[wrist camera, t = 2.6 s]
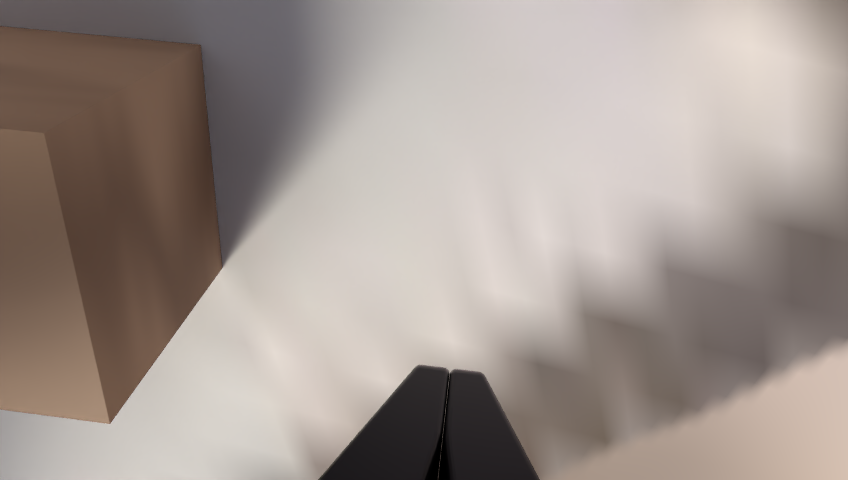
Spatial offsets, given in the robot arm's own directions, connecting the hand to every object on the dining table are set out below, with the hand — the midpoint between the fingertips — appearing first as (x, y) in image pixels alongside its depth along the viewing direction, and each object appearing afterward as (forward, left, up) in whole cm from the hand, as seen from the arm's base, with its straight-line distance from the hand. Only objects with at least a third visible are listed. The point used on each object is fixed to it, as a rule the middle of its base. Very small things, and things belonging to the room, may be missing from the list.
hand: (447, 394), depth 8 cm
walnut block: (0, +8, -6) cm, 10 cm away
